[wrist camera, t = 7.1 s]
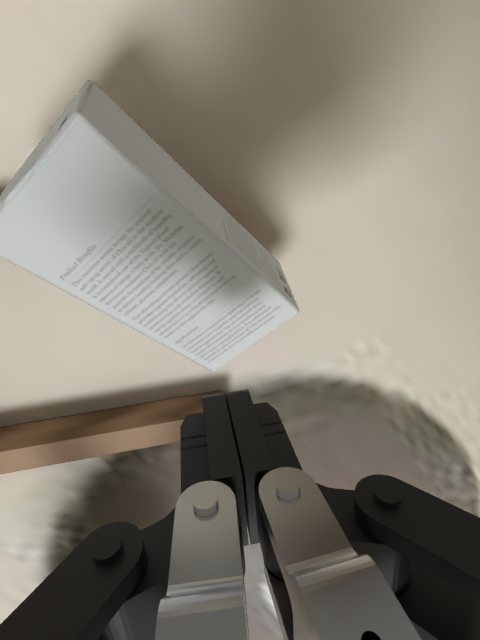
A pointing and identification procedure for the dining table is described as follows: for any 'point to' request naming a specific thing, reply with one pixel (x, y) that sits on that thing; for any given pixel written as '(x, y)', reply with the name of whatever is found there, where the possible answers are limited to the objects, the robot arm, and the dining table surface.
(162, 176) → the skincare box
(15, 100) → the dining table surface
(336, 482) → the dining table surface
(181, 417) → the brown wooden frame
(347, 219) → the dining table surface
